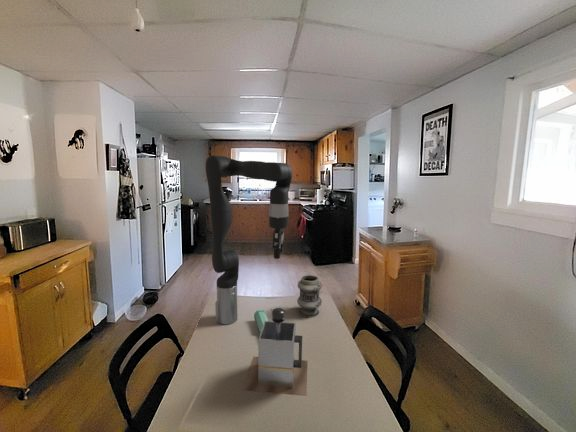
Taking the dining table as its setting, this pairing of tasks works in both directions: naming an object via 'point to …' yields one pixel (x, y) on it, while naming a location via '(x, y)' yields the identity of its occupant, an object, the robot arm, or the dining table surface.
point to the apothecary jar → (309, 295)
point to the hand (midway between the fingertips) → (278, 255)
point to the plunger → (278, 319)
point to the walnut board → (297, 389)
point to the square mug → (278, 355)
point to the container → (260, 318)
